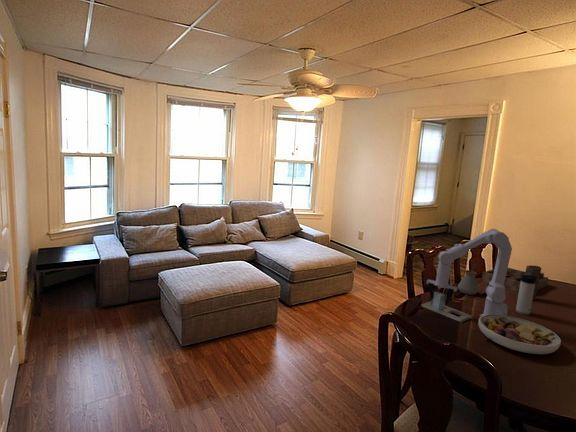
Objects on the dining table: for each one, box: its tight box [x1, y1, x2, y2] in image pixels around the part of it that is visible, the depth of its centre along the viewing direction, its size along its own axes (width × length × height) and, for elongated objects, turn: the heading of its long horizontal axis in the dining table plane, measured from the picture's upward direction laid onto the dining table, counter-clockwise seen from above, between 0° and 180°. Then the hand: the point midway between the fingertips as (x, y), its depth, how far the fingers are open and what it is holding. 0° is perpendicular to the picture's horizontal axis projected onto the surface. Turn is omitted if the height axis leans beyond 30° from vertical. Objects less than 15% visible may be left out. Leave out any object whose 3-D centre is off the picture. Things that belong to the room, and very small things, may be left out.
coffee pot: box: [457, 263, 480, 296], centre depth 216 cm, size 21×12×15 cm, turn 144°
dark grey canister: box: [524, 264, 542, 301], centre depth 208 cm, size 8×7×20 cm
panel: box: [421, 300, 472, 323], centre depth 180 cm, size 21×10×1 cm, turn 37°
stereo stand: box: [481, 267, 549, 293], centre depth 235 cm, size 27×32×7 cm
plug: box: [432, 292, 447, 310], centre depth 183 cm, size 4×4×8 cm
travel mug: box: [515, 275, 537, 316], centre depth 186 cm, size 6×7×20 cm
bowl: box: [477, 314, 562, 355], centre depth 155 cm, size 30×30×8 cm
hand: (439, 300), depth 183 cm, fingers open, 7 cm apart
